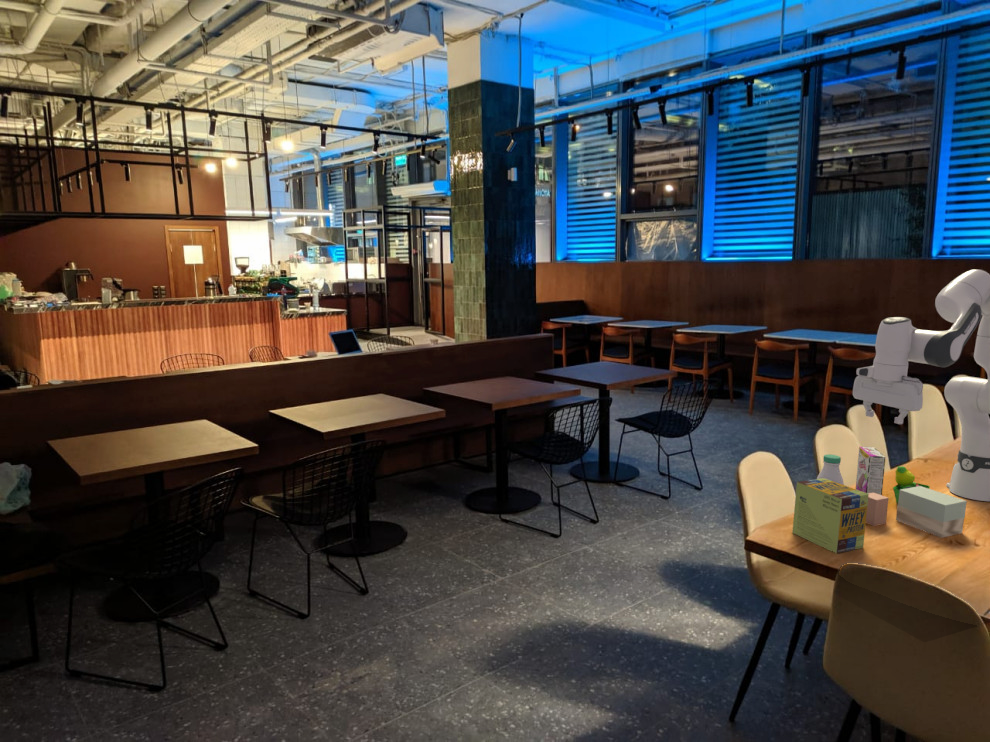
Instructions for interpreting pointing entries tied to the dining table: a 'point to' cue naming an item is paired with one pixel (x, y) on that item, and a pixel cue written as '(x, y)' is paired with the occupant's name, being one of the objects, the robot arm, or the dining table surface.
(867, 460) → the candy bar box
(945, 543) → the dining table surface
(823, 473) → the milk bottle
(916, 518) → the tower base
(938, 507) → the tower top
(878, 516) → the block
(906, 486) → the green toy figure
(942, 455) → the dining table surface
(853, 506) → the protein box
